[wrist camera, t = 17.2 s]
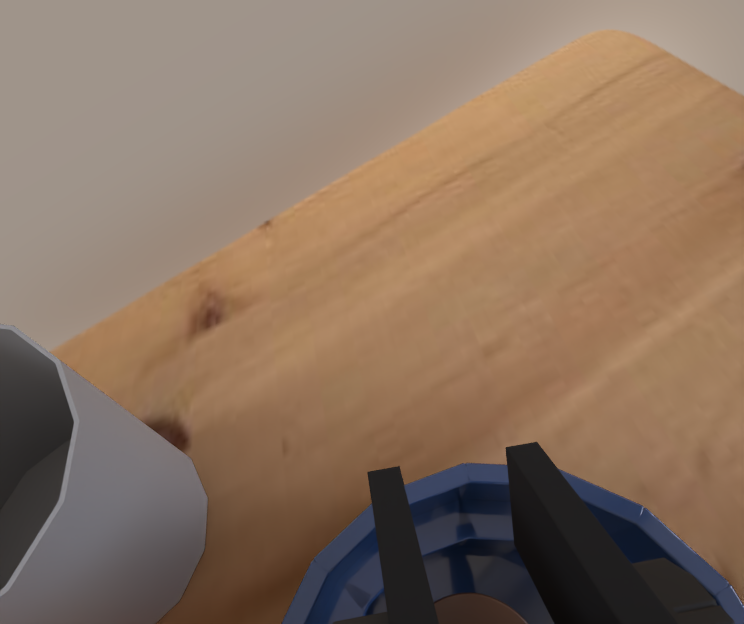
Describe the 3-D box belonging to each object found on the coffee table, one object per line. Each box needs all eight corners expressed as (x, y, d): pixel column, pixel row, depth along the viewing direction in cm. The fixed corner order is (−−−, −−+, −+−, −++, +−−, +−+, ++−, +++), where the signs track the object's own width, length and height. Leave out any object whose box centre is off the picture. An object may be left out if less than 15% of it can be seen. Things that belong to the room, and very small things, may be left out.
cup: (139, 392, 24) (-8, 266, 15) (250, 534, 21) (143, 477, 12) (-42, 532, 21) (-343, 476, 13) (53, 719, 18) (-261, 813, 10)
